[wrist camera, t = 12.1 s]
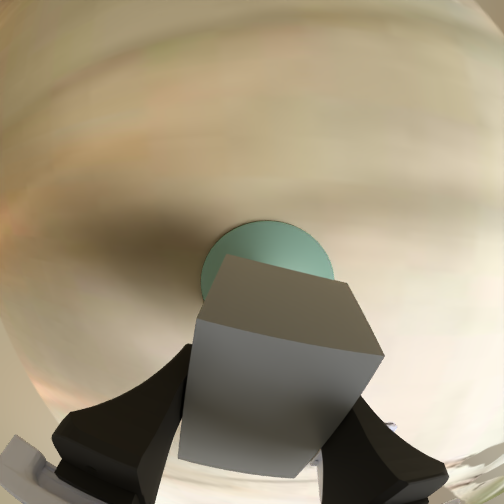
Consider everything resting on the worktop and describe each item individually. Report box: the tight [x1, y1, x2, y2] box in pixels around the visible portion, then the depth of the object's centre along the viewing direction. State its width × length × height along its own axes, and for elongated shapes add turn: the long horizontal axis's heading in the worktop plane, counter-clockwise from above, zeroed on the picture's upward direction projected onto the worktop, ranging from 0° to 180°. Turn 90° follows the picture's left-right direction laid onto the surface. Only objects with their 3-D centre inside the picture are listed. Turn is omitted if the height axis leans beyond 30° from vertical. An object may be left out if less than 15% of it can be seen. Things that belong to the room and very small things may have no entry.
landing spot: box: [201, 221, 334, 301], centre depth 21 cm, size 10×10×1 cm
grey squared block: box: [178, 254, 385, 478], centre depth 12 cm, size 9×6×6 cm, turn 167°
